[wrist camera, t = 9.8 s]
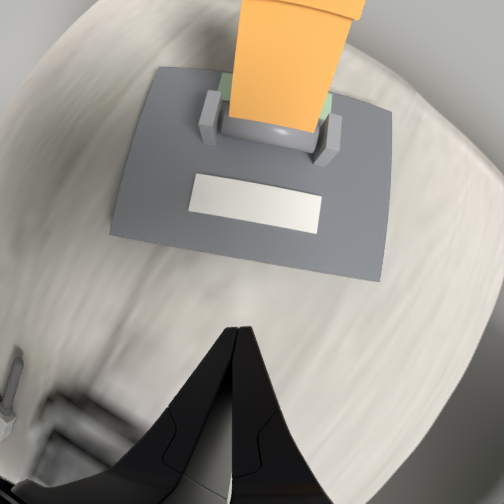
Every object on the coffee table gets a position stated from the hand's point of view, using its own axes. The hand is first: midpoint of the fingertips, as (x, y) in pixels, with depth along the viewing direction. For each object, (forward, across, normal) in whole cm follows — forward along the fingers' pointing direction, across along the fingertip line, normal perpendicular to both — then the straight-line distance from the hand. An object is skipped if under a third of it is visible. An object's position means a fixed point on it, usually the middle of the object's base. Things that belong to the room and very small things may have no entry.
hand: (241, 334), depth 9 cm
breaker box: (+14, 0, -1) cm, 14 cm away
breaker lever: (+12, -1, -4) cm, 13 cm away
